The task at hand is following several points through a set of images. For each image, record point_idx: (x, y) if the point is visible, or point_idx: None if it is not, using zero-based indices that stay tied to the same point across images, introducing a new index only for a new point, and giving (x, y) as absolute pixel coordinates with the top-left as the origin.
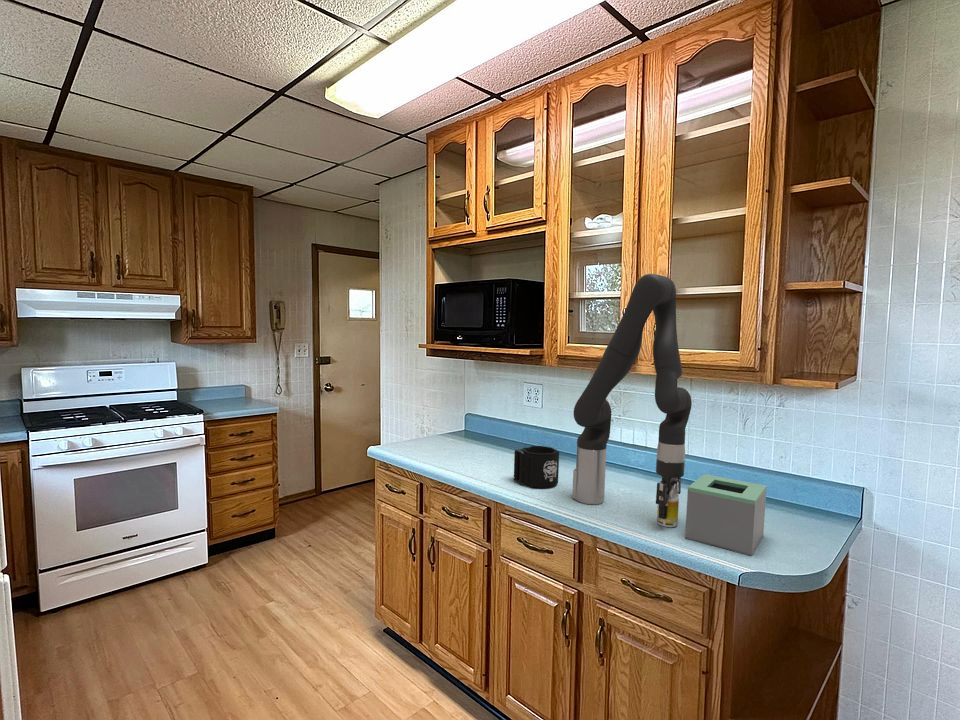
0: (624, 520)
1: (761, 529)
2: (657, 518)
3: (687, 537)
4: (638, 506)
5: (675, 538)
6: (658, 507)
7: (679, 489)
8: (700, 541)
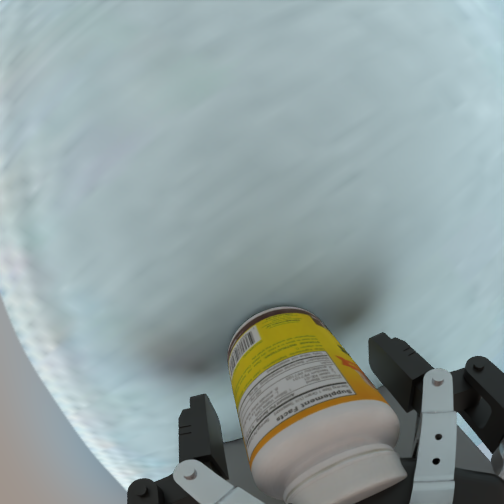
0: (108, 183)
1: None
2: (243, 337)
3: None
4: (387, 95)
5: (166, 436)
6: (251, 391)
7: (469, 422)
8: None
